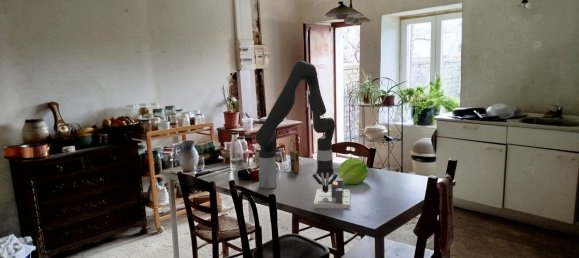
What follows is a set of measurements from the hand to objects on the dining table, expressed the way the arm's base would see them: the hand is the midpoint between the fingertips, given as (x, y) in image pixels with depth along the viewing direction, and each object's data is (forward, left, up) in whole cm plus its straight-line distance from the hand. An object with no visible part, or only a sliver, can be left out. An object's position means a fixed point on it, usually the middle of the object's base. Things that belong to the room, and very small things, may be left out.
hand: (325, 192), depth 201 cm
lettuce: (+13, +27, -4) cm, 30 cm away
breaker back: (+7, +8, -2) cm, 11 cm away
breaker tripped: (+5, 0, -2) cm, 5 cm away
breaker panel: (+3, 0, -4) cm, 5 cm away
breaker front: (+7, -8, -2) cm, 11 cm away
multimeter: (-25, +50, -4) cm, 56 cm away
